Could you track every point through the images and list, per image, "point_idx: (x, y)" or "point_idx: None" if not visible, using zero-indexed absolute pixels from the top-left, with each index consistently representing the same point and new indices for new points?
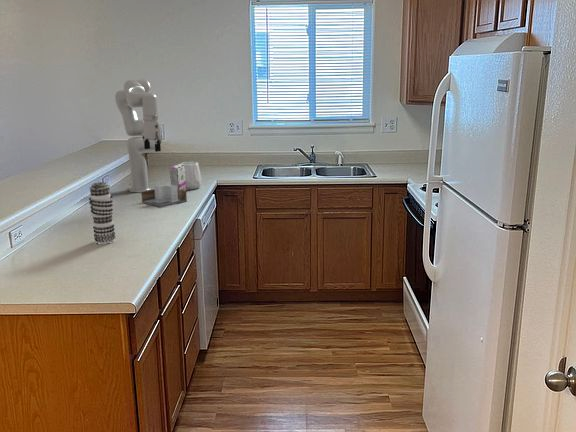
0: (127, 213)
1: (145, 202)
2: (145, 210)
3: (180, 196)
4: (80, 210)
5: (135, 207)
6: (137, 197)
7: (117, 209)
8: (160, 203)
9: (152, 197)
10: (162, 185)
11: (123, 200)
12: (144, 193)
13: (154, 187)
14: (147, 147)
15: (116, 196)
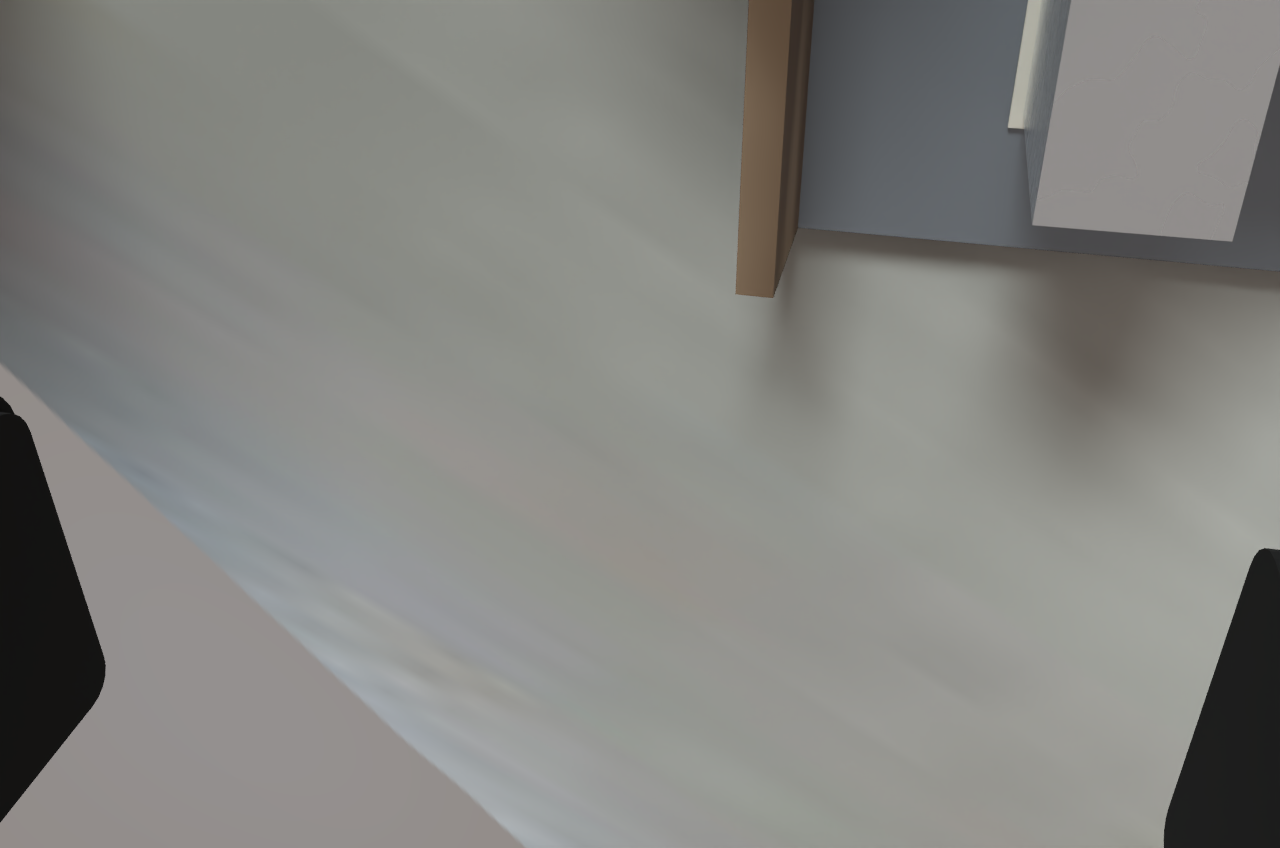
0: (1140, 720)
1: (874, 229)
2: (1266, 517)
3: None
4: (507, 821)
5: (953, 469)
6: (353, 6)
7: (824, 644)
8: (1264, 173)
9: (808, 25)
10: (1149, 26)
11: (394, 280)
12: (781, 239)
13: (1040, 217)
14: (19, 632)
15: (66, 171)
